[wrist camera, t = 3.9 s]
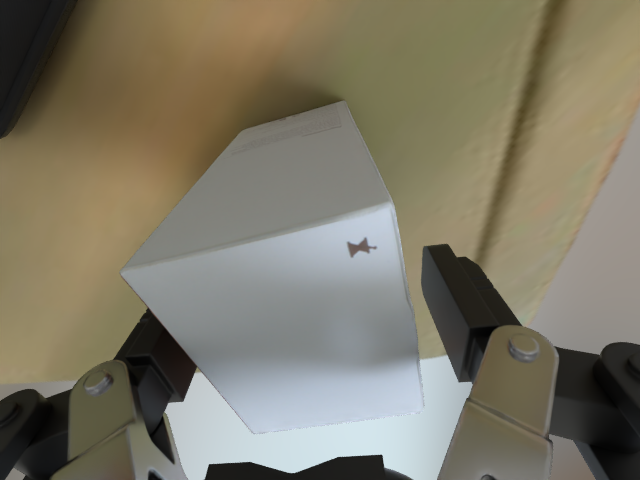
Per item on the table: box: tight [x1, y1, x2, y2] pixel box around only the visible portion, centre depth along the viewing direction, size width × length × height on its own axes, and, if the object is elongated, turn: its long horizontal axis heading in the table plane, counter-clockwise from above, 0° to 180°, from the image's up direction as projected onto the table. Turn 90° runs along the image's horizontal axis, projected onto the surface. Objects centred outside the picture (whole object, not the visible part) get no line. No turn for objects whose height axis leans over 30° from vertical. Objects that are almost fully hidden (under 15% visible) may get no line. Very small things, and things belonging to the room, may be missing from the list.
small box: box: [119, 100, 424, 434], centre depth 13 cm, size 8×6×13 cm
